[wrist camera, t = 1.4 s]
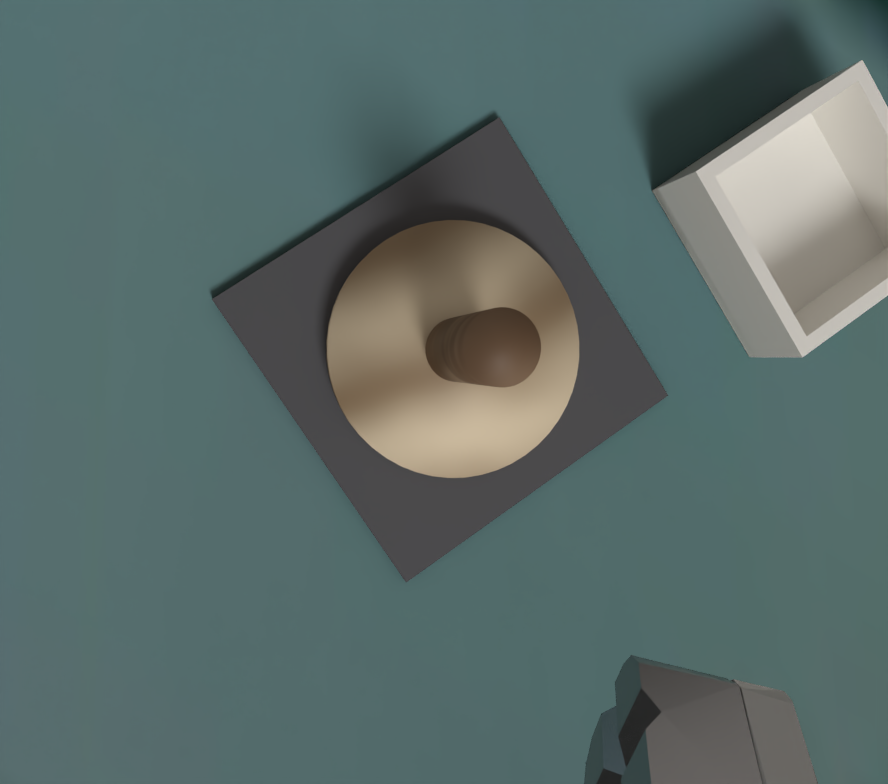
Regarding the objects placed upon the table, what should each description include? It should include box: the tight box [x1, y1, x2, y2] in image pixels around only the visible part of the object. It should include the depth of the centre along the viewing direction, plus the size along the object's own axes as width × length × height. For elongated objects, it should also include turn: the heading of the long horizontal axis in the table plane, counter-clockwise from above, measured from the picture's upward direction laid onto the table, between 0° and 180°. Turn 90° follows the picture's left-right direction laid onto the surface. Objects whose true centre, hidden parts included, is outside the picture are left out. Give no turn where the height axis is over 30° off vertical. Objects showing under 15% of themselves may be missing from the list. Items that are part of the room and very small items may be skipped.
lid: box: [326, 220, 579, 478], centre depth 36 cm, size 12×12×9 cm
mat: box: [212, 118, 668, 582], centre depth 41 cm, size 16×16×1 cm
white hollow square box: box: [652, 60, 888, 357], centre depth 42 cm, size 10×10×4 cm
